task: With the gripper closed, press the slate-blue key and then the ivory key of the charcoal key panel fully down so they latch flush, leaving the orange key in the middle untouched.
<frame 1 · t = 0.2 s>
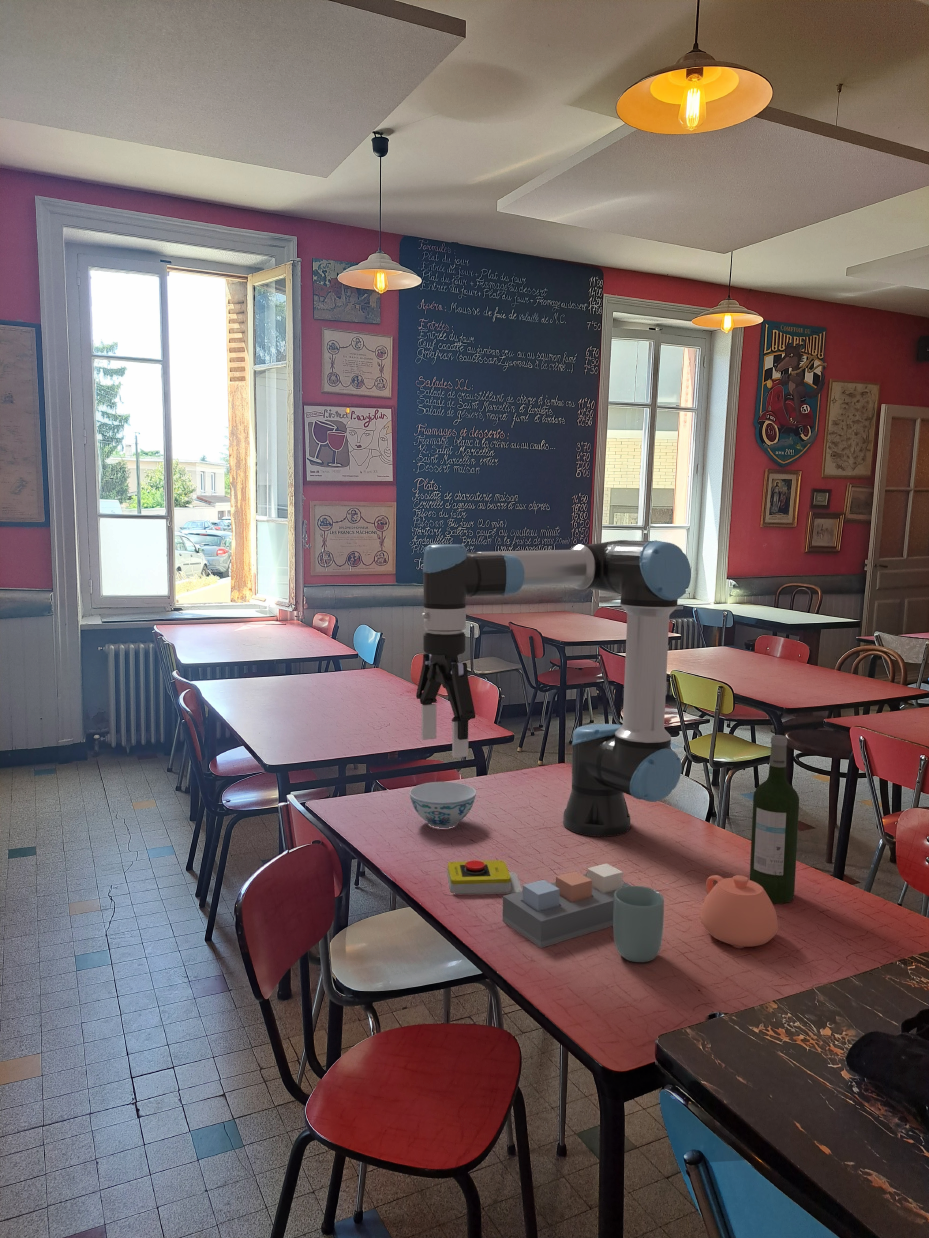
hand: (444, 747, 156), 28 cm above the table, fingers open, 13 cm apart
ivory key: (604, 879, 152), point 6 cm above the table, slide at 0.0 cm
key panel: (572, 918, 149), on the table
sugar bowl: (734, 935, 144), on the table
chinaware: (442, 825, 195), on the table
blue key: (540, 896, 145), point 6 cm above the table, slide at 0.0 cm
cup: (636, 957, 136), on the table
wine bottle: (771, 895, 159), on the table
orange key: (573, 888, 148), point 6 cm above the table, slide at 0.0 cm
emergency button: (480, 887, 163), on the table
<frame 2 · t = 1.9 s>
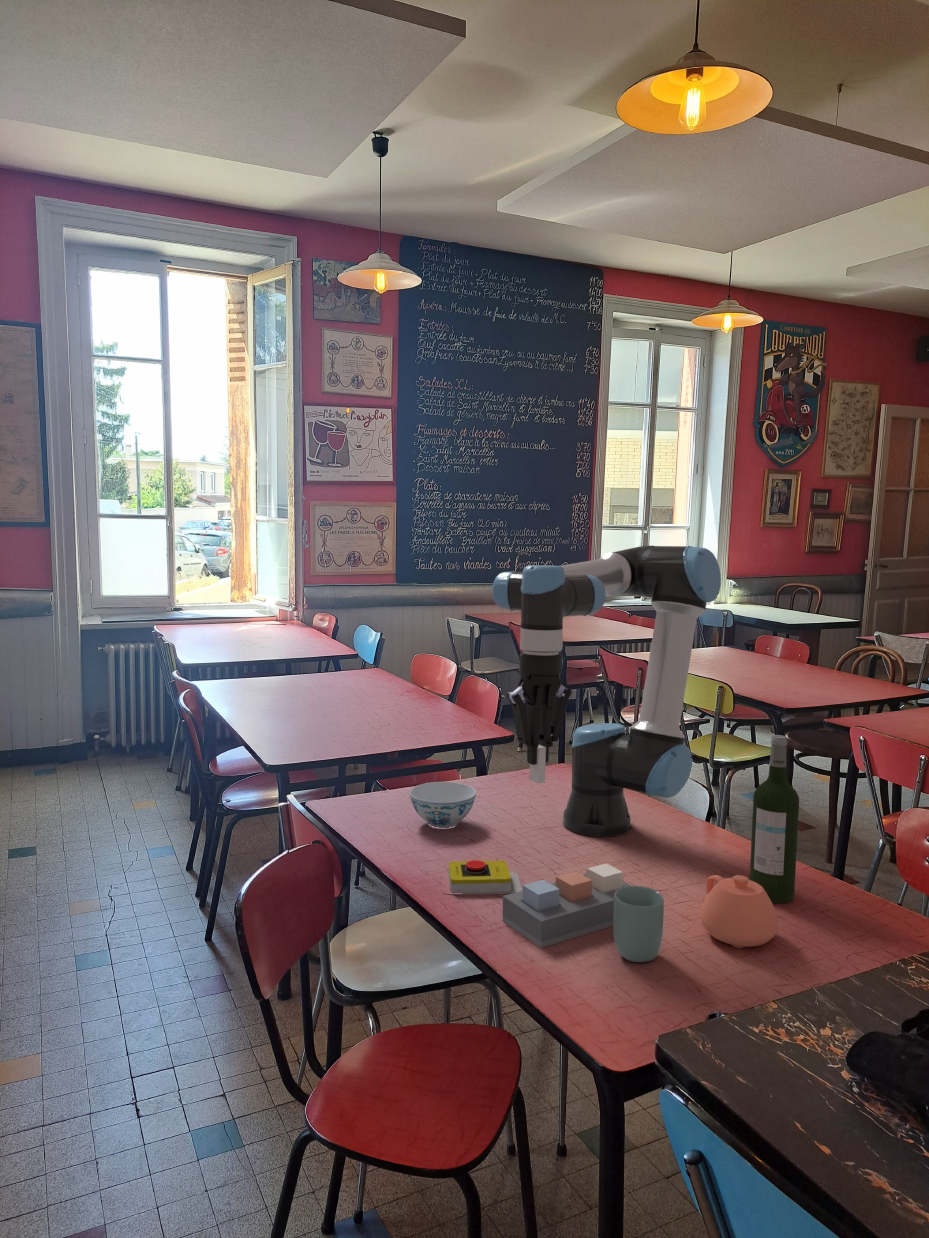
hand: (537, 780, 155), 22 cm above the table, fingers closed
nothing on the table moved.
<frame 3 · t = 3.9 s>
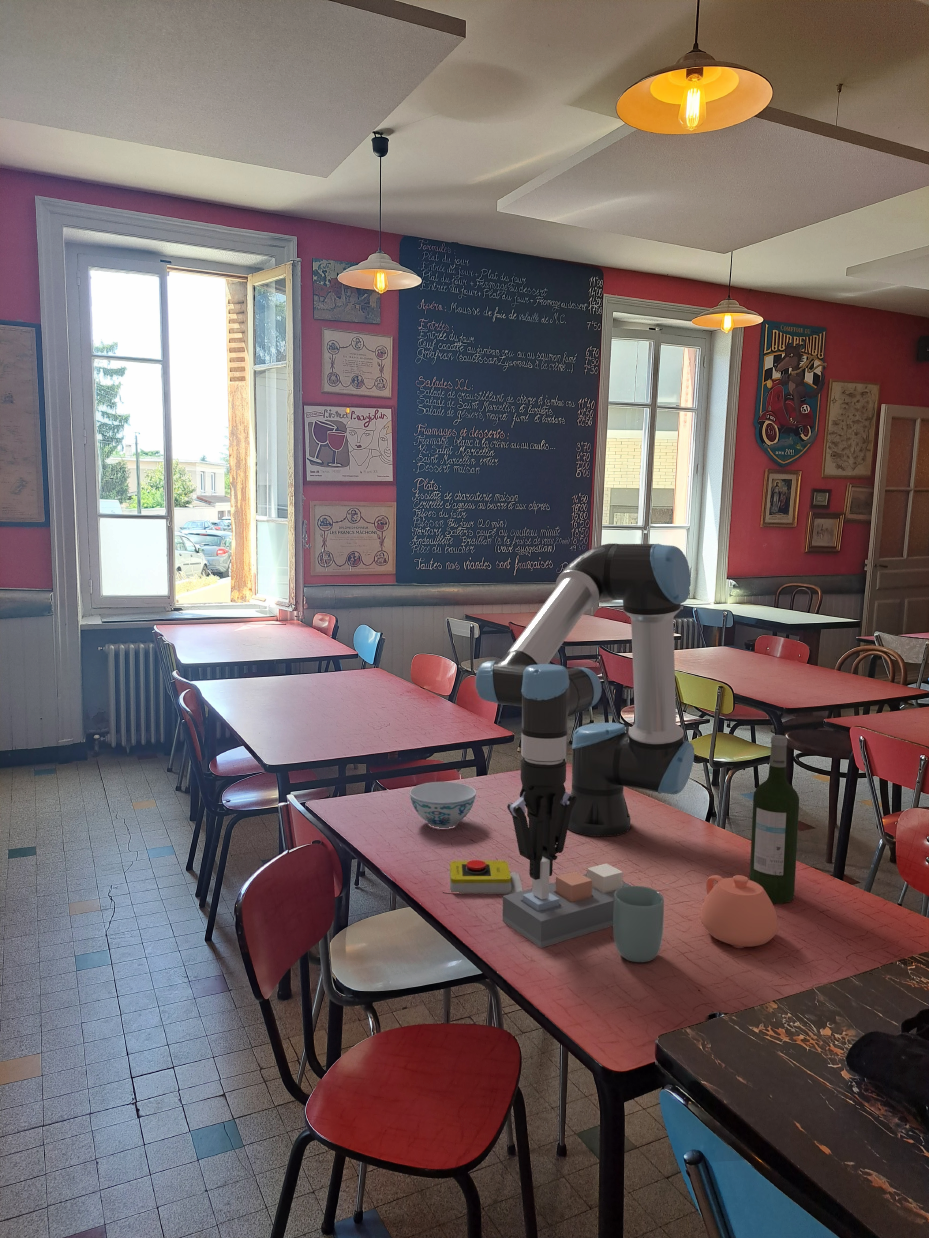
hand: (540, 895, 144), 6 cm above the table, fingers closed
blue key: (540, 906, 145), point 4 cm above the table, slide at 1.7 cm, touching gripper
everything else where it was.
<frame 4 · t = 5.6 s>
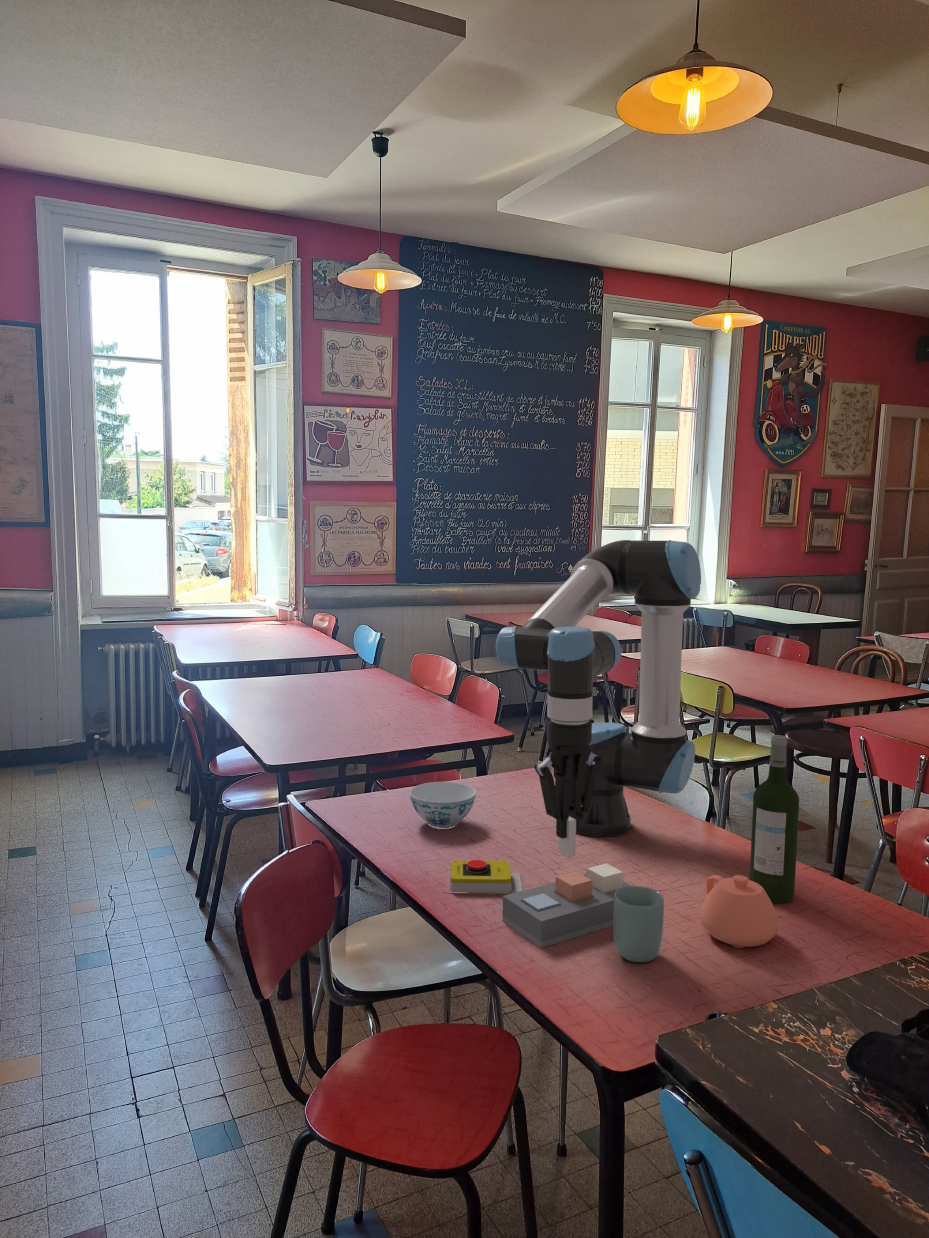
hand: (567, 854, 147), 12 cm above the table, fingers closed
blue key: (540, 910, 145), point 3 cm above the table, slide at 2.5 cm
everything else where it was.
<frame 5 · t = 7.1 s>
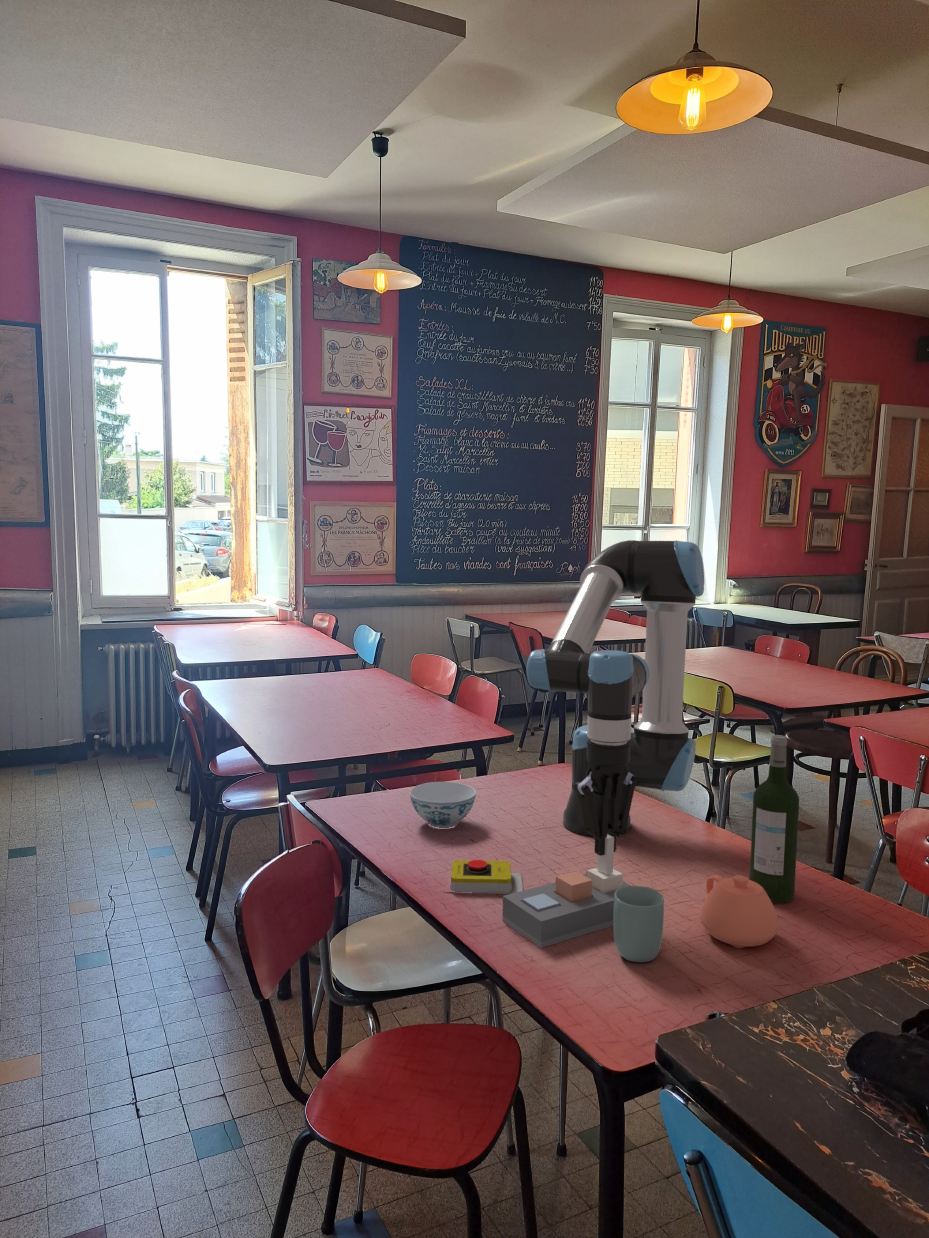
hand: (604, 870, 151), 7 cm above the table, fingers closed
ivory key: (604, 881, 152), point 5 cm above the table, slide at 0.4 cm, touching gripper
everything else where it was.
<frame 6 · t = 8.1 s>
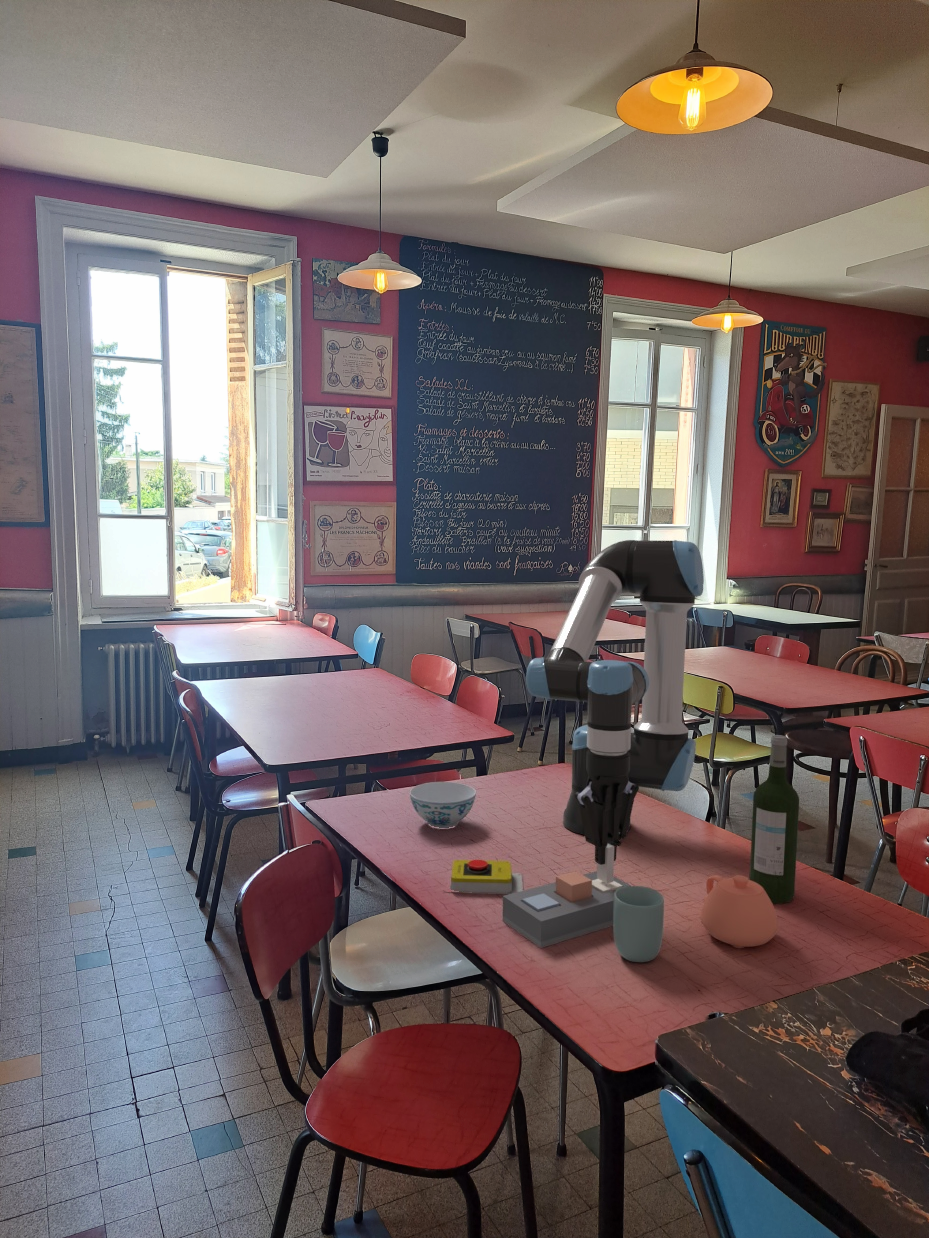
hand: (605, 879, 152), 5 cm above the table, fingers closed
ivory key: (604, 893, 152), point 3 cm above the table, slide at 2.5 cm
everything else where it was.
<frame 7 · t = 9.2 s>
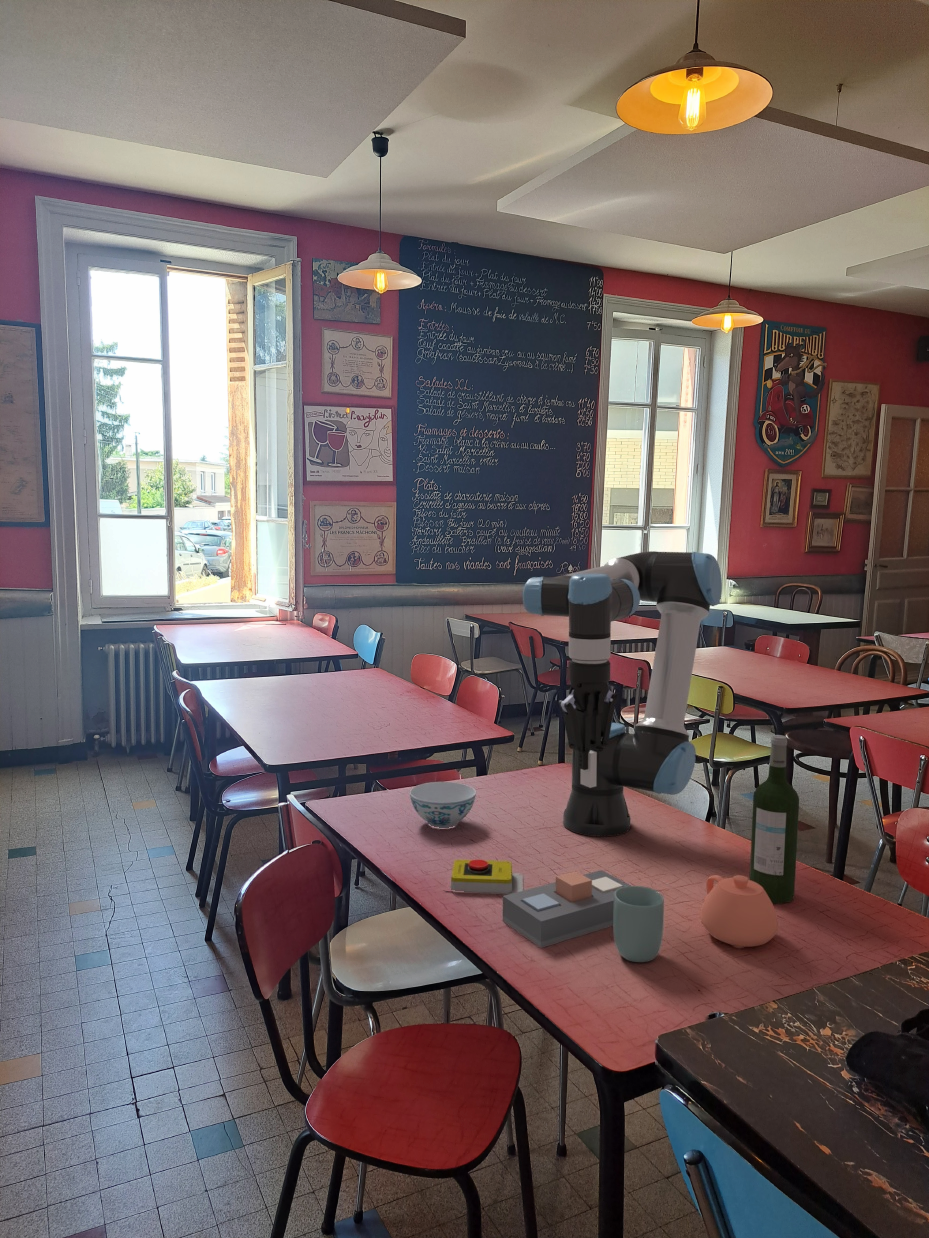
hand: (588, 784, 159), 20 cm above the table, fingers closed
nothing on the table moved.
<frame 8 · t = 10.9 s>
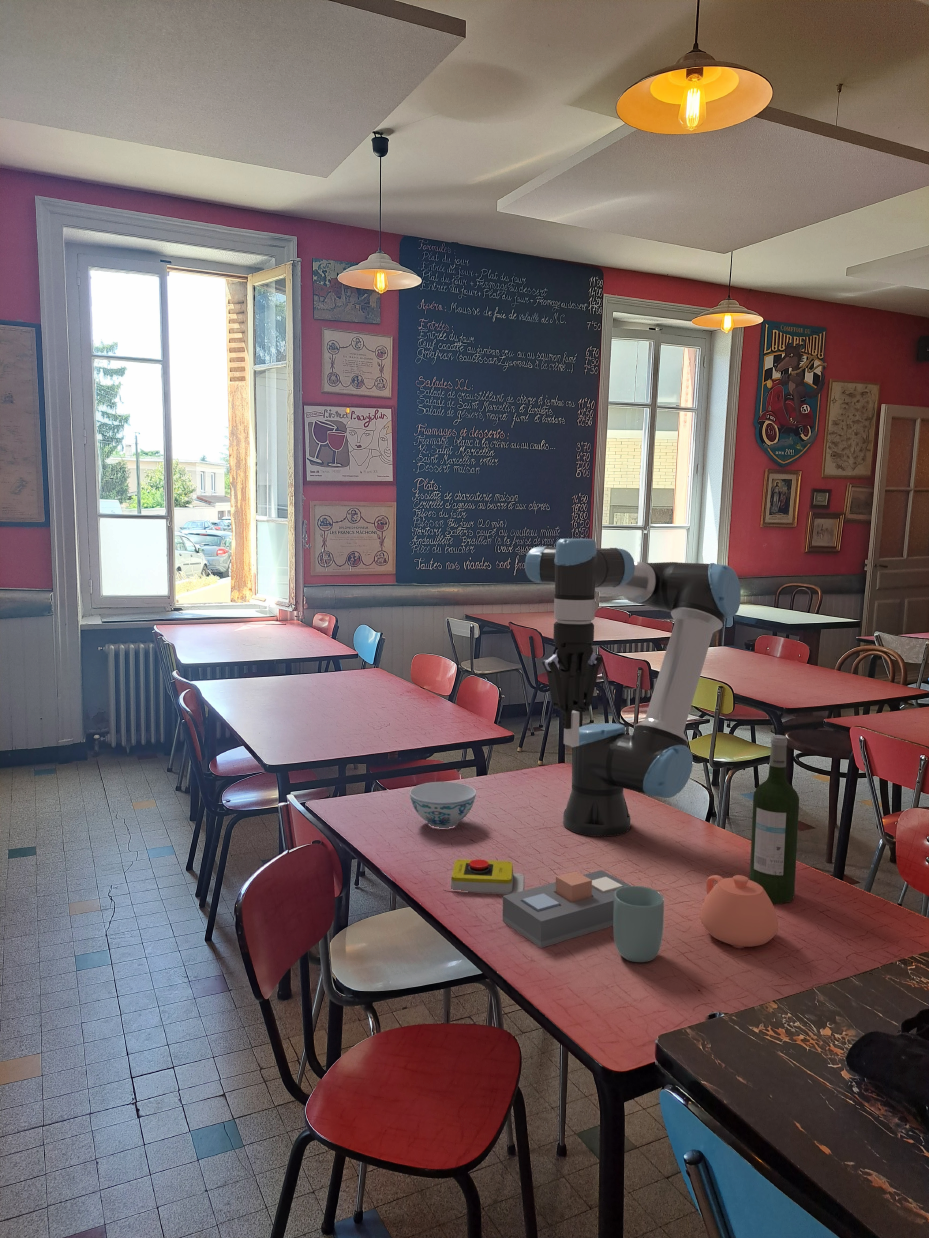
hand: (571, 744, 163), 26 cm above the table, fingers closed
at the end: blue key slide at 2.5 cm; ivory key slide at 2.5 cm; orange key slide at 0.0 cm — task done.
